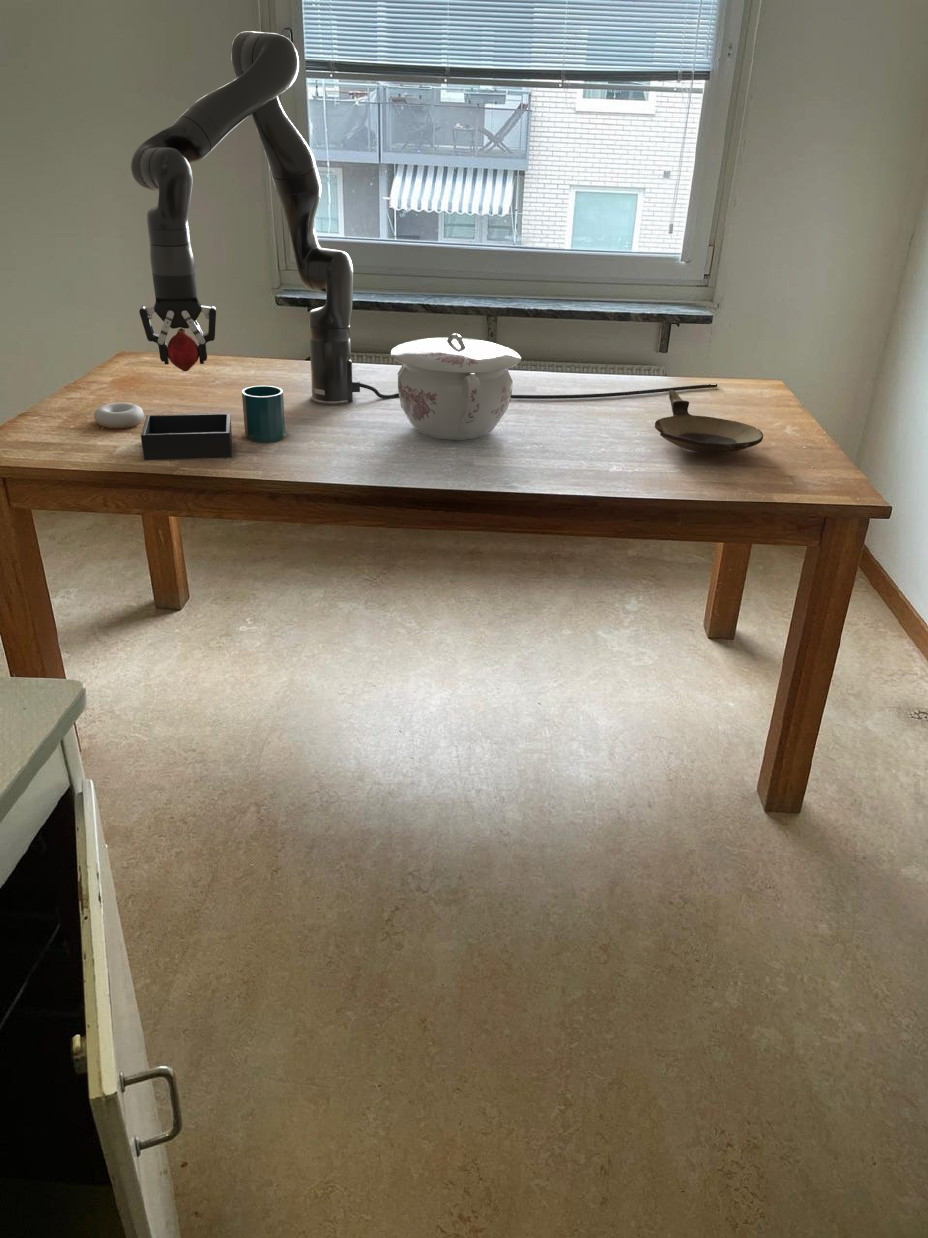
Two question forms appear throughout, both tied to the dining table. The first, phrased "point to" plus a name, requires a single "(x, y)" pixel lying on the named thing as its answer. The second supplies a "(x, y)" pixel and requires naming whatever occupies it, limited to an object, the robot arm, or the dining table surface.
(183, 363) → the onion
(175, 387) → the dining table surface
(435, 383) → the chamber pot
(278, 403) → the cup
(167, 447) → the black open box
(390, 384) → the dining table surface
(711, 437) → the frying pan
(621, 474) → the dining table surface
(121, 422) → the donut
